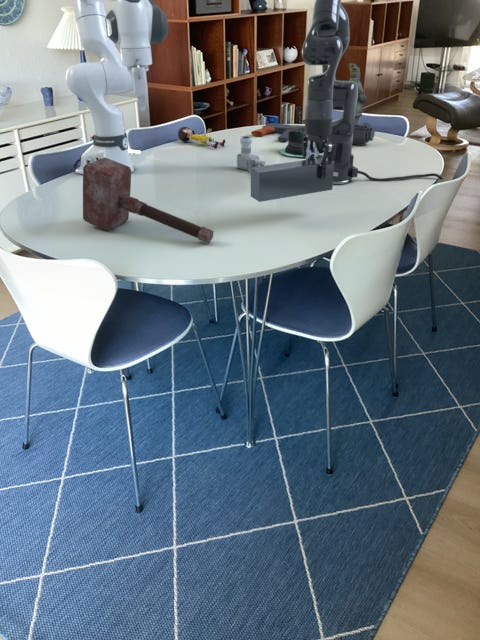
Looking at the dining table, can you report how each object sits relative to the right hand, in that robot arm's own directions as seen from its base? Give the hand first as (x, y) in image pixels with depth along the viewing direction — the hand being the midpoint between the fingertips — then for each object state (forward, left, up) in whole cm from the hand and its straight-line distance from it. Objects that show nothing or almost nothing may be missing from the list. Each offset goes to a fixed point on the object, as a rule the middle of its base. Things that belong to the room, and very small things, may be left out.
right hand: (315, 175), depth 163 cm
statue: (-65, -102, -12) cm, 122 cm away
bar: (+8, +1, -4) cm, 9 cm away
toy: (-54, -78, -12) cm, 95 cm away
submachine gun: (-31, -104, -12) cm, 109 cm away
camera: (+2, -53, -12) cm, 55 cm away
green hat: (-27, -72, -12) cm, 78 cm away
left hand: (+45, -32, +17) cm, 58 cm away
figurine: (+11, -103, -12) cm, 104 cm away
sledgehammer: (+50, -2, -12) cm, 51 cm away
